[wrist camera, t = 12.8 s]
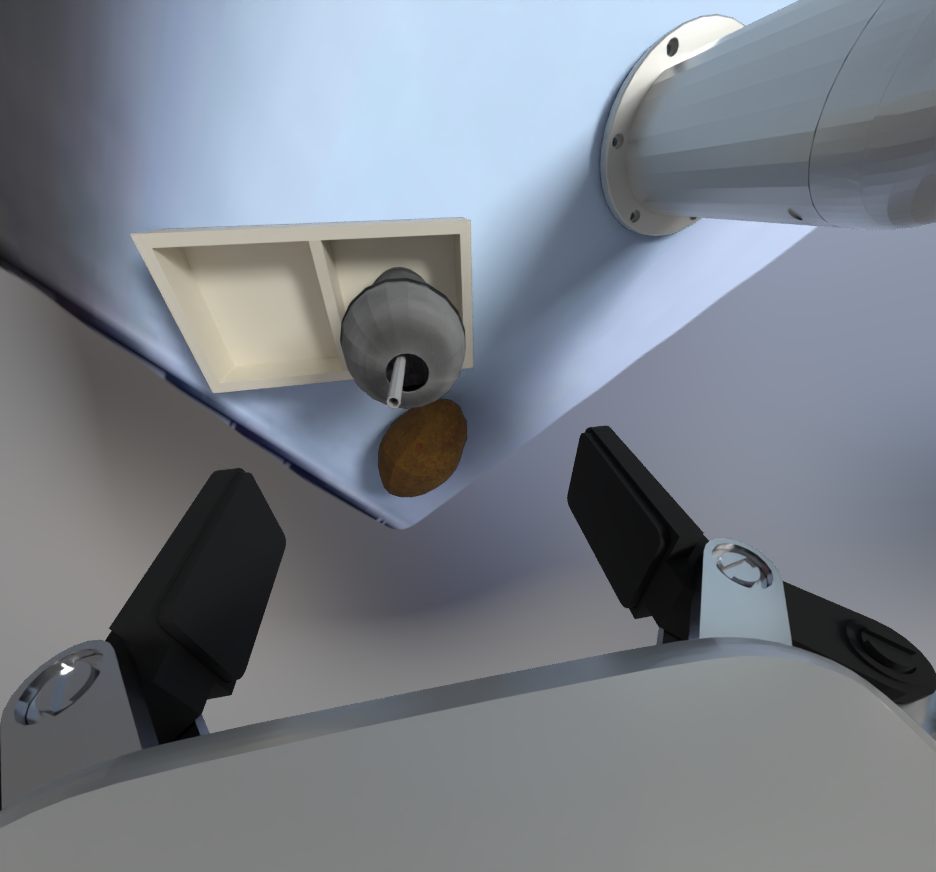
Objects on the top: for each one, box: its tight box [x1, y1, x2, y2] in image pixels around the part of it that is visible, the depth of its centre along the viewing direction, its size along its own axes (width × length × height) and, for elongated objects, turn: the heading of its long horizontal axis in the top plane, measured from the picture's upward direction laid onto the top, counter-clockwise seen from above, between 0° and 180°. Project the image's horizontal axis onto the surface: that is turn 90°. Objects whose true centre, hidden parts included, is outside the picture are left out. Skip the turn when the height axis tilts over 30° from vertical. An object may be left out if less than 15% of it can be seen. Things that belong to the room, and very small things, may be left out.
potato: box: [378, 399, 467, 497], centre depth 35 cm, size 8×12×8 cm, turn 149°
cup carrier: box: [130, 217, 473, 393], centre depth 27 cm, size 22×11×4 cm, turn 91°
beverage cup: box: [340, 267, 466, 409], centre depth 21 cm, size 7×7×20 cm
